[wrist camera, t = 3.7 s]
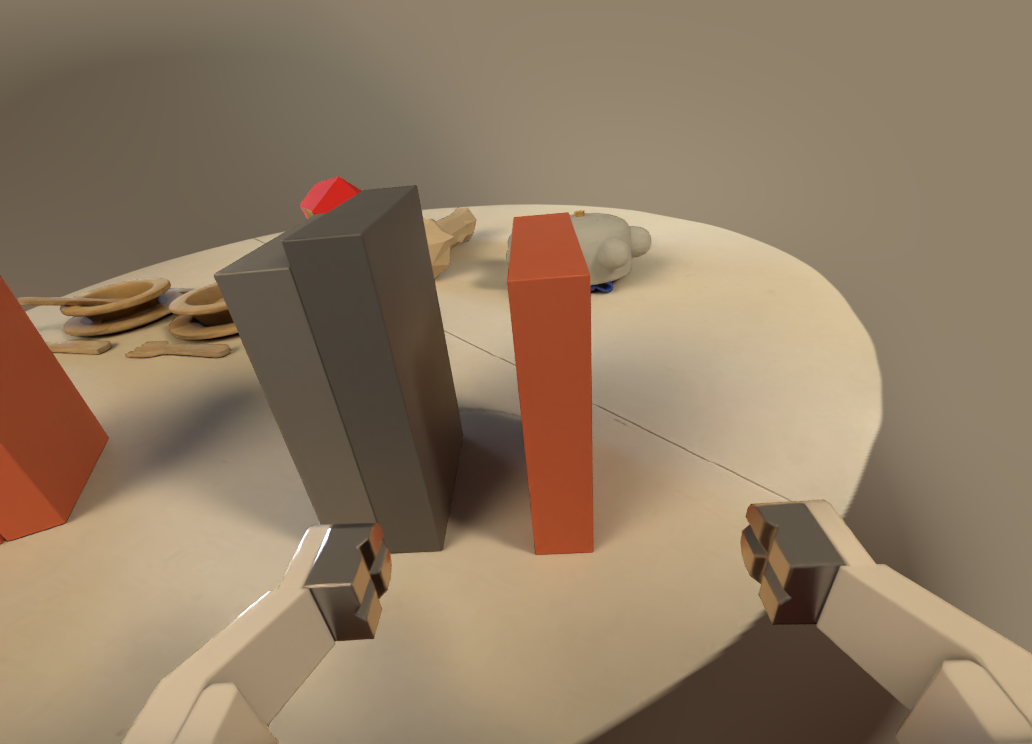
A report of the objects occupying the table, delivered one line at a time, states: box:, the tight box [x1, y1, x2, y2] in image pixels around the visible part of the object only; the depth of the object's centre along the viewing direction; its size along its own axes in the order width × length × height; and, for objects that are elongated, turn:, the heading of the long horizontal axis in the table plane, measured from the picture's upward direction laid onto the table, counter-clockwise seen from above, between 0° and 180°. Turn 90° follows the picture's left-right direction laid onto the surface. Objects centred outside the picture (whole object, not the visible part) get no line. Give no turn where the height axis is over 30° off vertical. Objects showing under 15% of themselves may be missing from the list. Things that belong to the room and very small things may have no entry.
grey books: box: [214, 185, 463, 553], centre depth 26 cm, size 10×6×17 cm, turn 179°
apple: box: [300, 176, 361, 219], centre depth 82 cm, size 12×12×15 cm
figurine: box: [506, 211, 651, 292], centre depth 59 cm, size 17×8×20 cm
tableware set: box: [17, 278, 238, 357], centre depth 58 cm, size 30×20×6 cm, turn 78°
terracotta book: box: [507, 213, 593, 555], centre depth 25 cm, size 10×3×15 cm, turn 179°
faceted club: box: [423, 207, 476, 279], centre depth 70 cm, size 9×8×25 cm
